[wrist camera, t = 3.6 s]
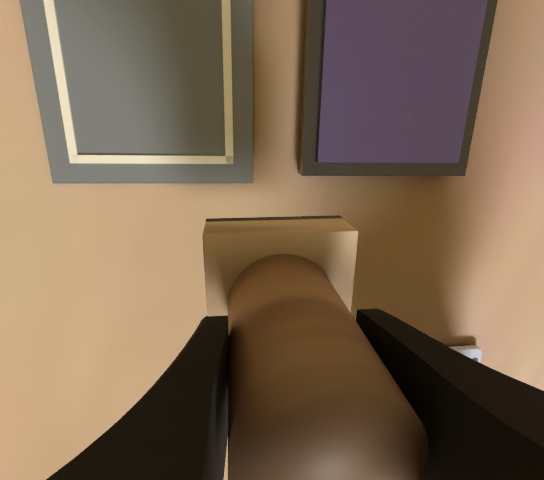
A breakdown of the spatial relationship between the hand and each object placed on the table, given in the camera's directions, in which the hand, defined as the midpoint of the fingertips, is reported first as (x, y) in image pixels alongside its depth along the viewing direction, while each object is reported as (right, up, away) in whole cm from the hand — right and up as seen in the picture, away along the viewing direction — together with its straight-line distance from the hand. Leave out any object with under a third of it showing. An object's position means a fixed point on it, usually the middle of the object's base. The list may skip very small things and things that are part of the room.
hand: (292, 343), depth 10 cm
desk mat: (-7, +11, +7) cm, 14 cm away
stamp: (-1, +1, +4) cm, 4 cm away
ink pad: (+5, +11, +8) cm, 15 cm away
